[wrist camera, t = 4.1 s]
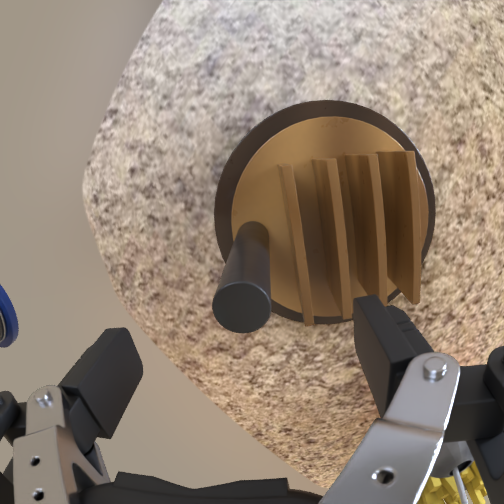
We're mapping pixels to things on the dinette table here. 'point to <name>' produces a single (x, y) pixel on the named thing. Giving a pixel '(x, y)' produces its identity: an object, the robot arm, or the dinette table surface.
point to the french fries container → (454, 488)
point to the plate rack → (323, 224)
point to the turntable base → (274, 126)
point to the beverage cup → (453, 464)
